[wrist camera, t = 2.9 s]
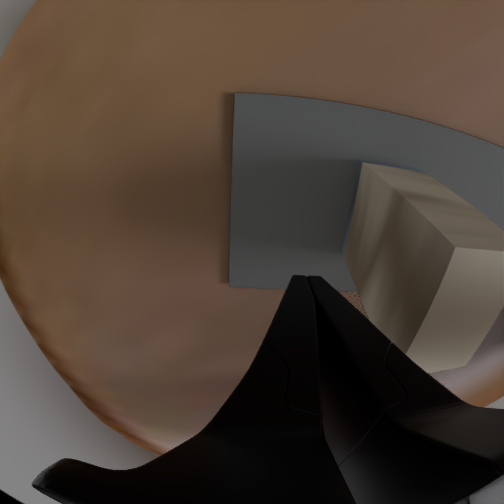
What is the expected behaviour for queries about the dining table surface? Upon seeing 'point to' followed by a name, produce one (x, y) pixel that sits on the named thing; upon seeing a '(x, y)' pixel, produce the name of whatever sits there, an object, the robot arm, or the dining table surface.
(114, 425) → the dining table surface
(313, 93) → the dining table surface
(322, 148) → the mat
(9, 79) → the dining table surface
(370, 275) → the block
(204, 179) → the dining table surface
